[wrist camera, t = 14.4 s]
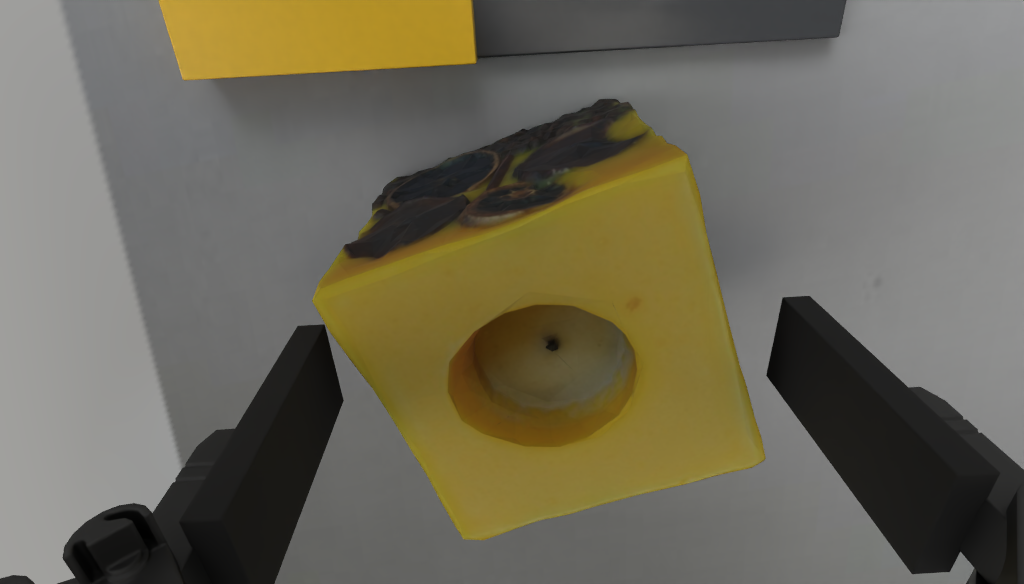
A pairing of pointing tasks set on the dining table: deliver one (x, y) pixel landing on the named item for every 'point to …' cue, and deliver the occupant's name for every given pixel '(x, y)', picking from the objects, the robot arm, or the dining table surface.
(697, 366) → the candle
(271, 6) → the knife
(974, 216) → the dining table surface
